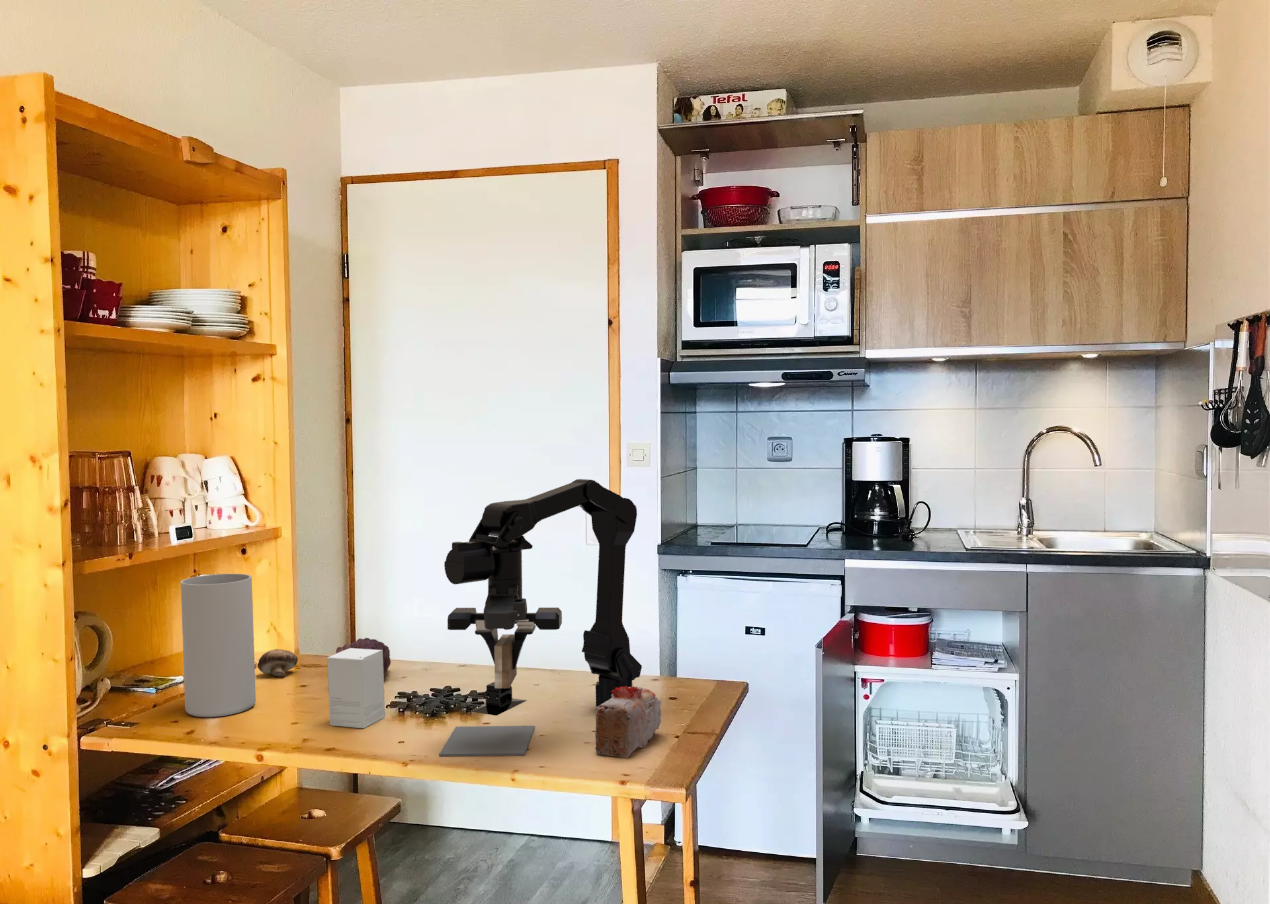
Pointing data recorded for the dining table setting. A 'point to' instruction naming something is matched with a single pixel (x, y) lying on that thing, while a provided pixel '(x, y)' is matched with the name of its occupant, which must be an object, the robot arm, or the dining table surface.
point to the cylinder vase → (218, 644)
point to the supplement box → (356, 687)
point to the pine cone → (371, 645)
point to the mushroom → (277, 662)
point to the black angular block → (498, 700)
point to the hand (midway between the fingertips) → (505, 669)
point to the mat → (488, 741)
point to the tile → (504, 661)
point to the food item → (626, 721)
